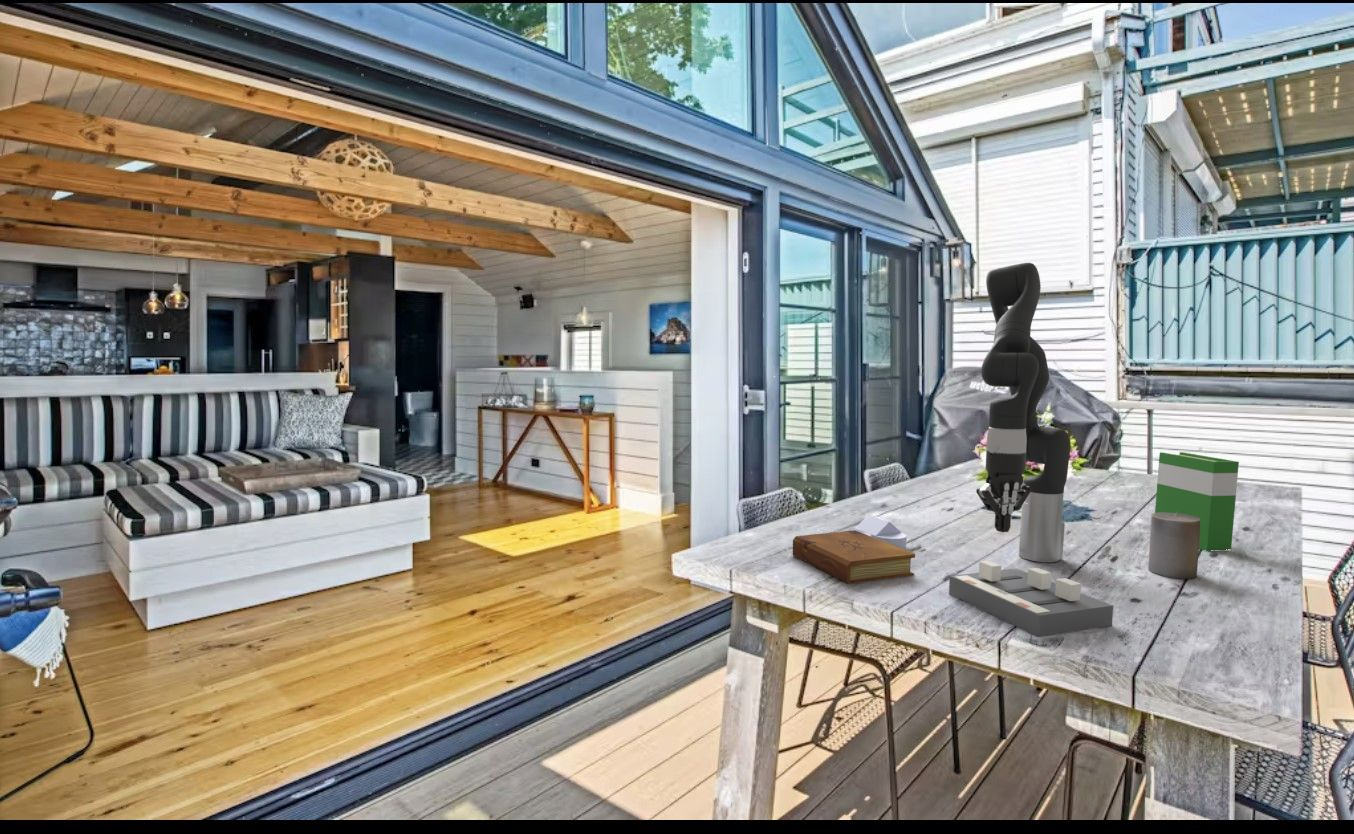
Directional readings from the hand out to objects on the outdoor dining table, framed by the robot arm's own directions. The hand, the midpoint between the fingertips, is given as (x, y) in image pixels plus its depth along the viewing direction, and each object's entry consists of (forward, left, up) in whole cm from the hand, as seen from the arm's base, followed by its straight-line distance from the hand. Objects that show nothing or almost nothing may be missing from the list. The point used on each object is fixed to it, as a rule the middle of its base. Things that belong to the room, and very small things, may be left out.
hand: (1002, 531), depth 150 cm
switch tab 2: (-4, +7, -10) cm, 13 cm away
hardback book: (-87, -21, -15) cm, 90 cm away
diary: (+17, -29, -15) cm, 37 cm away
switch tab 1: (+2, 0, -10) cm, 10 cm away
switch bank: (-1, +7, -15) cm, 16 cm away
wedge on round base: (-2, -43, -15) cm, 46 cm away
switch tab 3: (-4, +14, -10) cm, 17 cm away
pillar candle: (-54, -2, -15) cm, 56 cm away
